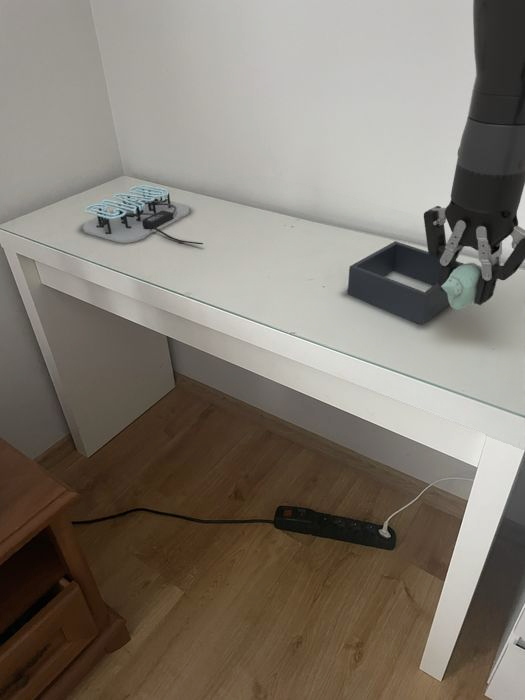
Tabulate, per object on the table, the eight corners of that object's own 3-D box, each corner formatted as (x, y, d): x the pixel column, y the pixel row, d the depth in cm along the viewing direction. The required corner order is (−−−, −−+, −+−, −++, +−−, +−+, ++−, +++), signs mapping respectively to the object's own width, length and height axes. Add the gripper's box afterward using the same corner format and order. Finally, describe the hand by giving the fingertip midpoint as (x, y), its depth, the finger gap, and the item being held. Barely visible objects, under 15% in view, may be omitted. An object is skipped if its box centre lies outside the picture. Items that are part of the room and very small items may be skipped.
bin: (463, 293, 84) (470, 265, 81) (421, 325, 77) (426, 295, 74) (391, 267, 92) (395, 240, 89) (347, 294, 85) (349, 266, 82)
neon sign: (181, 239, 94) (70, 210, 107) (184, 261, 97) (75, 230, 110) (247, 202, 108) (142, 180, 122) (248, 221, 111) (145, 198, 124)
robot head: (460, 293, 73) (470, 248, 69) (488, 303, 71) (500, 257, 67) (430, 316, 69) (438, 269, 65) (459, 328, 66) (470, 280, 62)
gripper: (573, 165, 56) (530, 304, 66) (451, 142, 65) (429, 268, 75) (544, 183, 52) (502, 328, 62) (418, 156, 60) (399, 288, 71)
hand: (463, 295), depth 68 cm, fingers closed on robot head, 4 cm apart
